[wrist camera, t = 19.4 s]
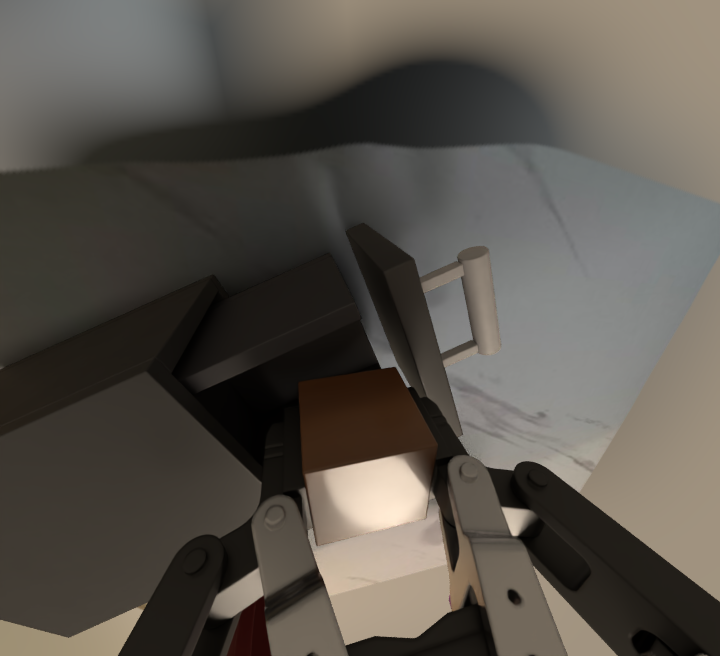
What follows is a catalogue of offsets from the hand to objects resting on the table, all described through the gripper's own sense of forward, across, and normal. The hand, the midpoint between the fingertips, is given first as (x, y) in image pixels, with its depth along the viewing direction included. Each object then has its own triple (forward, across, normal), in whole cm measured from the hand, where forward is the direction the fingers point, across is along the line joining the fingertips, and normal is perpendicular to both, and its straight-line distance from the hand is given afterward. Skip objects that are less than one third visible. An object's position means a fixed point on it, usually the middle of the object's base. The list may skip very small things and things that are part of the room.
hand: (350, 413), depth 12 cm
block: (0, 0, 0) cm, 0 cm away
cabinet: (+9, +11, +4) cm, 15 cm away
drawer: (+8, 0, 0) cm, 8 cm away
